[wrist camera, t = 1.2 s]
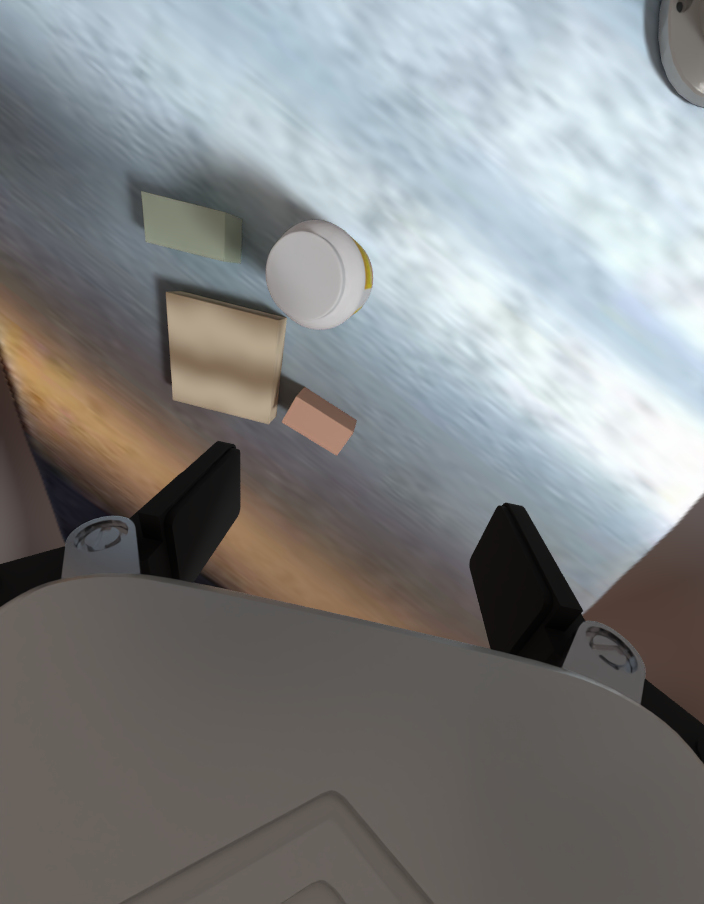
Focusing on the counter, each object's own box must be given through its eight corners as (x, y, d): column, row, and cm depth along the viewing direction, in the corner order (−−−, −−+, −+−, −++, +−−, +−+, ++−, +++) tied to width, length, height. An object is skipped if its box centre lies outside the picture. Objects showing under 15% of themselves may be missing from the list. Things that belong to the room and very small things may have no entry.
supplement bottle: (324, 219, 28) (275, 177, 16) (387, 264, 29) (382, 252, 17) (292, 293, 31) (233, 299, 19) (350, 330, 32) (326, 357, 20)
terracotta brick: (291, 410, 37) (281, 422, 34) (304, 386, 35) (296, 396, 32) (341, 441, 38) (336, 455, 35) (356, 419, 36) (353, 432, 33)
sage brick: (170, 245, 30) (145, 241, 27) (168, 200, 28) (141, 191, 25) (241, 263, 30) (224, 261, 27) (243, 219, 28) (224, 212, 25)
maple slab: (181, 291, 32) (165, 291, 30) (286, 317, 32) (278, 320, 30) (186, 393, 37) (173, 399, 35) (276, 415, 37) (268, 424, 35)
